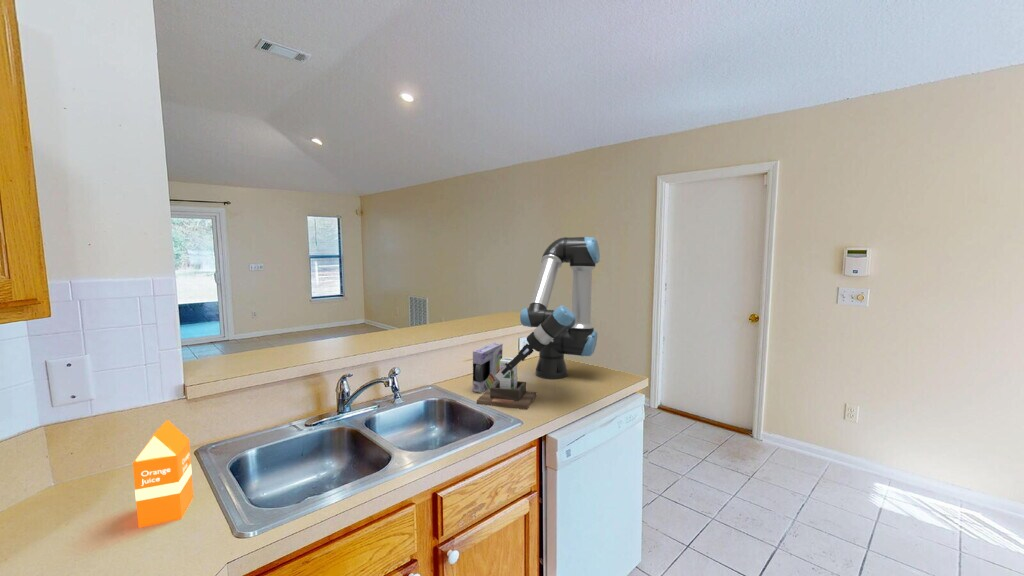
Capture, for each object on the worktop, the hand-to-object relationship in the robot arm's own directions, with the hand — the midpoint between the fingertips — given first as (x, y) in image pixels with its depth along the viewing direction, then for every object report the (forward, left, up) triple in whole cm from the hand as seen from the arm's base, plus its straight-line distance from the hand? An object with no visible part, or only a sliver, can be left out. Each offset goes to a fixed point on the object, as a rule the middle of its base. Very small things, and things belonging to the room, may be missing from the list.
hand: (502, 373), depth 165 cm
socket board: (+2, +2, -10) cm, 10 cm away
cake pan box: (-11, -11, -10) cm, 18 cm away
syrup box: (0, +2, -9) cm, 9 cm away
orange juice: (+91, -51, -10) cm, 104 cm away
